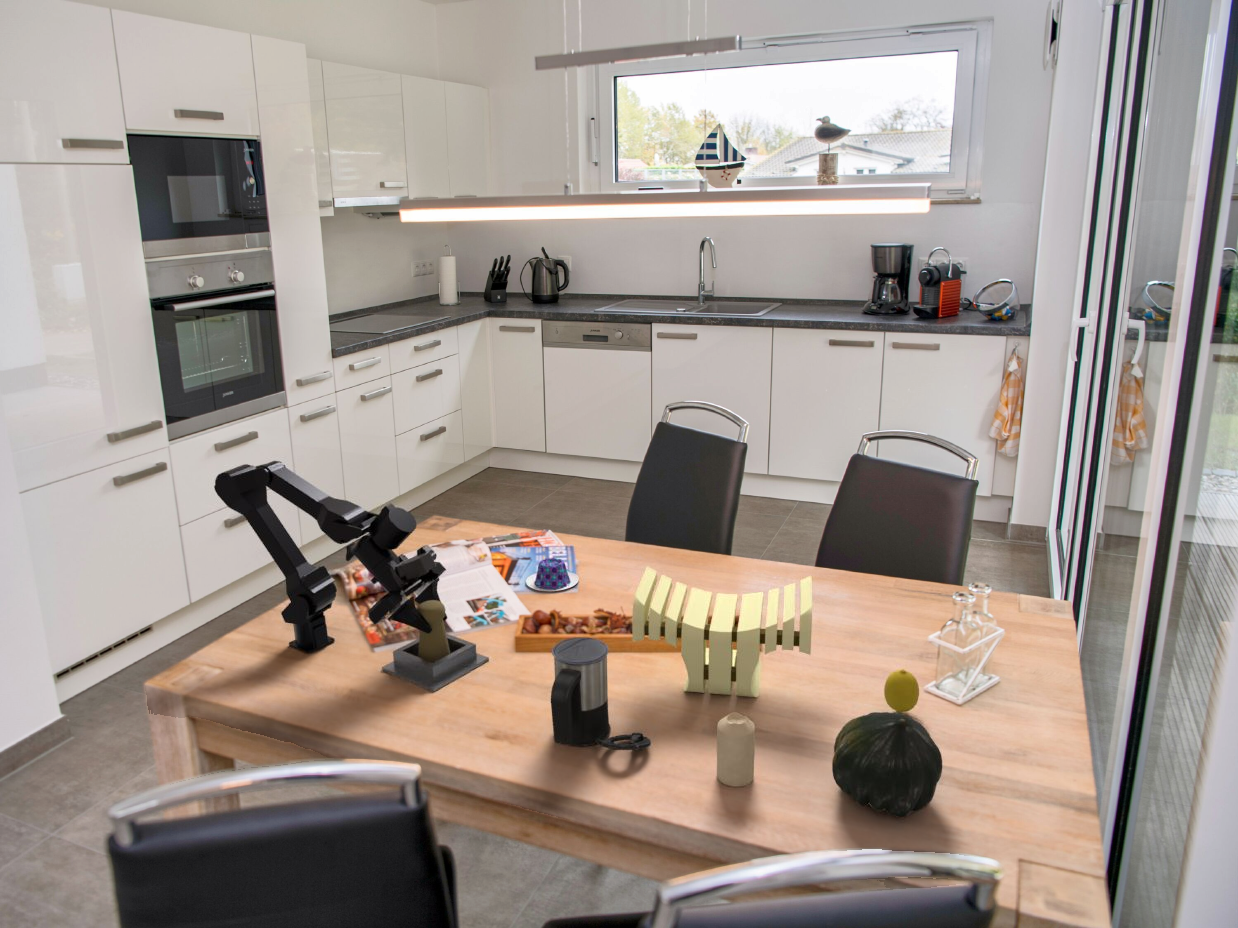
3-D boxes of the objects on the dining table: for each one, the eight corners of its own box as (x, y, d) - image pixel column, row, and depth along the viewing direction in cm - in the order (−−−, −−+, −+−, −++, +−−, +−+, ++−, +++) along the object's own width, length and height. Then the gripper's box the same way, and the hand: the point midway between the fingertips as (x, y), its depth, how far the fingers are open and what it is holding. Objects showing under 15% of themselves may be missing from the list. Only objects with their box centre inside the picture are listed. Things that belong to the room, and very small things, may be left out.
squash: (837, 719, 141) (839, 687, 128) (939, 737, 137) (951, 705, 124) (826, 813, 134) (828, 789, 121) (933, 835, 130) (946, 812, 117)
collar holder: (382, 669, 170) (380, 652, 169) (438, 640, 180) (436, 624, 179) (433, 691, 162) (432, 673, 161) (488, 660, 172) (487, 643, 171)
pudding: (552, 598, 199) (551, 576, 198) (515, 584, 207) (514, 563, 206) (589, 581, 208) (588, 560, 207) (552, 568, 216) (551, 548, 214)
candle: (713, 766, 139) (714, 708, 136) (749, 763, 139) (750, 706, 136) (720, 788, 134) (721, 728, 131) (757, 786, 134) (759, 726, 131)
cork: (452, 662, 169) (448, 607, 166) (419, 666, 167) (414, 611, 164) (449, 647, 174) (445, 594, 171) (416, 651, 173) (412, 598, 170)
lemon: (899, 725, 149) (902, 681, 146) (875, 709, 153) (878, 666, 151) (924, 716, 151) (928, 673, 149) (900, 700, 156) (903, 658, 154)
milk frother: (557, 715, 154) (554, 635, 149) (651, 715, 153) (650, 635, 149) (548, 765, 140) (544, 679, 136) (650, 766, 139) (649, 679, 135)
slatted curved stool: (633, 694, 159) (632, 601, 154) (648, 652, 174) (647, 565, 169) (808, 709, 154) (812, 613, 149) (807, 664, 169) (811, 575, 164)
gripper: (376, 556, 157) (436, 624, 156) (434, 521, 174) (488, 582, 173) (342, 591, 162) (400, 657, 161) (401, 554, 179) (454, 614, 178)
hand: (438, 625), depth 168 cm, fingers closed on cork, 5 cm apart
